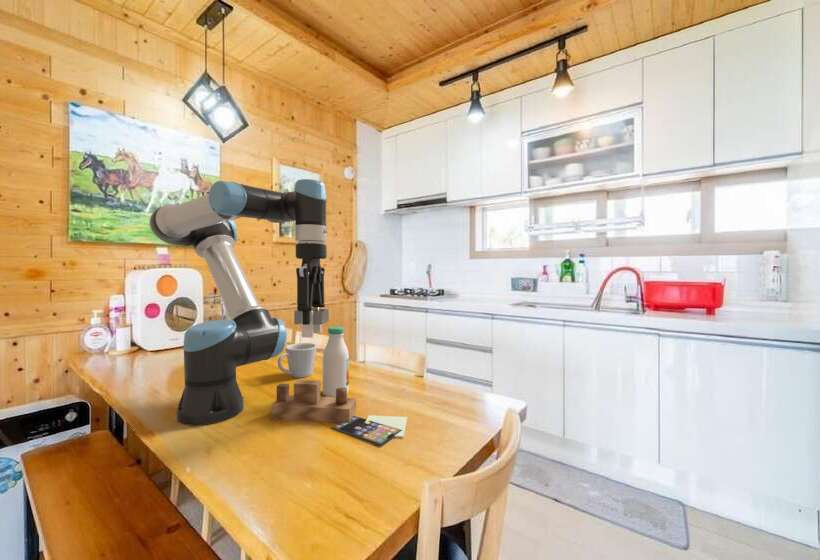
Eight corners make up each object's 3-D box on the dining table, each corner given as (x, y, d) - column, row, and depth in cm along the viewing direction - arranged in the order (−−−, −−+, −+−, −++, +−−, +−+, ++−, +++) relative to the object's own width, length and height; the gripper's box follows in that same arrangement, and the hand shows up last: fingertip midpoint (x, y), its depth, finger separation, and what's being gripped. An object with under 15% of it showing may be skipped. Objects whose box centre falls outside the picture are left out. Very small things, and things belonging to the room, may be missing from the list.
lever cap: (294, 323, 88) (294, 307, 88) (302, 320, 93) (302, 304, 93) (321, 324, 87) (321, 307, 87) (328, 321, 93) (328, 305, 92)
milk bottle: (342, 399, 103) (343, 330, 102) (318, 396, 104) (318, 329, 103) (352, 389, 110) (352, 325, 109) (329, 387, 112) (329, 324, 111)
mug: (323, 373, 126) (323, 345, 126) (288, 385, 114) (288, 354, 113) (303, 368, 132) (303, 341, 131) (267, 379, 119) (267, 349, 119)
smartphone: (353, 418, 91) (353, 413, 91) (401, 434, 83) (402, 429, 83) (330, 430, 85) (330, 425, 85) (380, 449, 77) (381, 443, 76)
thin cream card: (360, 435, 81) (360, 433, 81) (368, 416, 91) (368, 415, 91) (403, 437, 81) (403, 436, 81) (407, 418, 90) (407, 417, 90)
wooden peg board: (271, 418, 89) (270, 385, 89) (283, 407, 96) (283, 376, 96) (349, 422, 88) (349, 389, 87) (355, 411, 95) (356, 379, 94)
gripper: (312, 240, 80) (313, 343, 81) (336, 245, 98) (336, 328, 99) (280, 240, 81) (281, 342, 82) (309, 245, 99) (310, 328, 100)
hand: (312, 334), depth 90 cm, fingers closed on lever cap, 5 cm apart
